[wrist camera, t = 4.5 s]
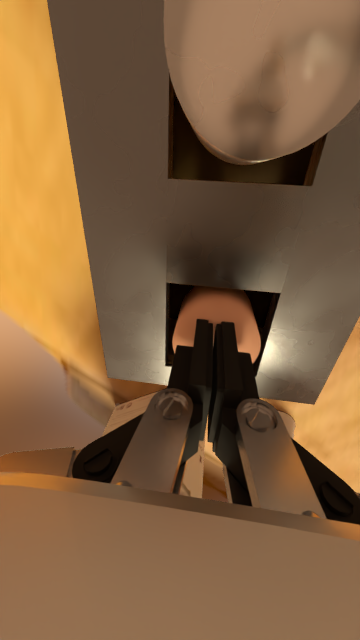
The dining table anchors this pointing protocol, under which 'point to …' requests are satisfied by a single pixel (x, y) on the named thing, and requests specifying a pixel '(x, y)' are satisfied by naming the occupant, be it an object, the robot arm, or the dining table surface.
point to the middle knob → (263, 71)
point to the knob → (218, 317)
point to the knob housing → (198, 212)
